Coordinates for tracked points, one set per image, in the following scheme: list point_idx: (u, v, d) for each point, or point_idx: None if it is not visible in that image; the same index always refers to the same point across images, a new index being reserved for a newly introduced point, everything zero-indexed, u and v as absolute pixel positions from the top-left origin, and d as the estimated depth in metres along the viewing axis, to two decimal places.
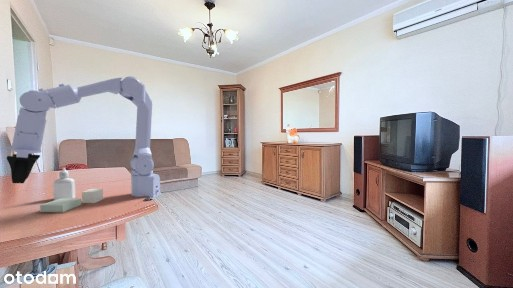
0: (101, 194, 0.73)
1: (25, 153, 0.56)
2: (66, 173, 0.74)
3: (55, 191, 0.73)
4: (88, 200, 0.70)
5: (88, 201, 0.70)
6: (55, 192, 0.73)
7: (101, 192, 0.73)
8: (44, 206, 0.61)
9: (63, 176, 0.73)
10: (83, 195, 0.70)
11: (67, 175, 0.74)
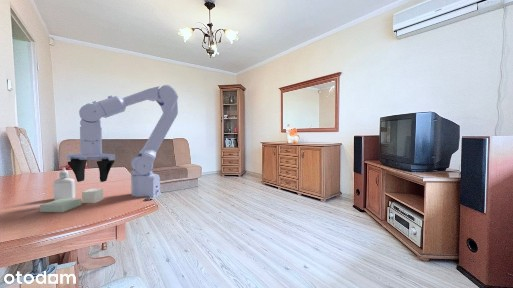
0: (101, 194, 0.73)
1: (114, 156, 0.72)
2: (66, 173, 0.74)
3: (55, 191, 0.73)
4: (88, 200, 0.70)
5: (88, 201, 0.70)
6: (55, 192, 0.73)
7: (101, 192, 0.73)
8: (44, 206, 0.61)
9: (63, 176, 0.73)
10: (83, 195, 0.70)
11: (67, 175, 0.74)
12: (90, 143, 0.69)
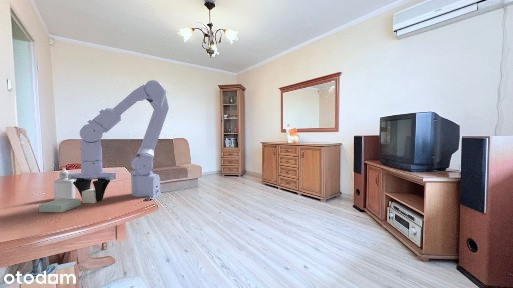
0: None
1: (114, 175, 0.72)
2: (66, 173, 0.74)
3: (55, 191, 0.73)
4: (88, 200, 0.70)
5: (88, 201, 0.70)
6: (55, 192, 0.73)
7: None
8: (43, 206, 0.61)
9: (63, 176, 0.73)
10: (83, 195, 0.70)
11: (67, 175, 0.74)
12: (91, 163, 0.69)
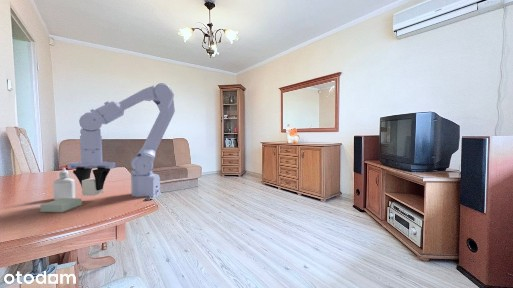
0: None
1: (114, 164, 0.72)
2: (66, 173, 0.74)
3: (55, 191, 0.73)
4: (88, 189, 0.70)
5: (88, 190, 0.70)
6: (55, 192, 0.73)
7: None
8: (44, 206, 0.61)
9: (63, 176, 0.73)
10: (83, 184, 0.70)
11: (67, 175, 0.74)
12: (90, 152, 0.69)
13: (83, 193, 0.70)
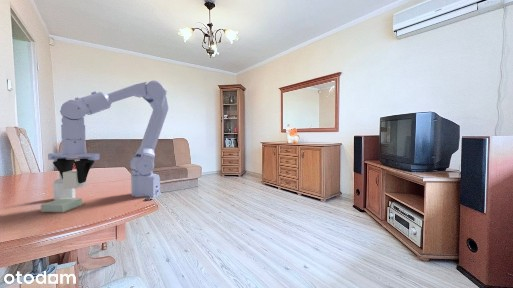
0: None
1: (98, 156, 0.68)
2: None
3: (55, 191, 0.73)
4: (69, 182, 0.66)
5: (69, 182, 0.66)
6: (55, 192, 0.73)
7: None
8: (44, 206, 0.61)
9: None
10: (64, 176, 0.65)
11: None
12: (72, 142, 0.65)
13: (64, 186, 0.66)
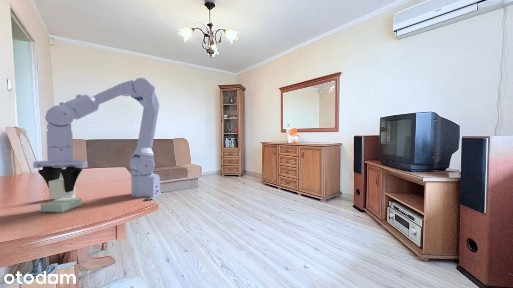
0: None
1: (86, 163, 0.65)
2: None
3: None
4: (55, 191, 0.63)
5: (55, 192, 0.63)
6: None
7: None
8: (44, 206, 0.62)
9: None
10: (50, 185, 0.63)
11: None
12: (58, 149, 0.62)
13: (50, 195, 0.63)
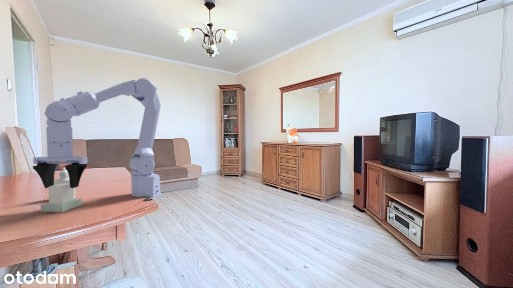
0: (72, 189, 0.66)
1: (86, 159, 0.65)
2: (66, 173, 0.74)
3: None
4: (56, 196, 0.63)
5: (55, 197, 0.63)
6: None
7: None
8: (44, 206, 0.62)
9: (63, 176, 0.73)
10: (50, 190, 0.62)
11: (67, 175, 0.74)
12: (58, 145, 0.62)
13: (50, 201, 0.63)
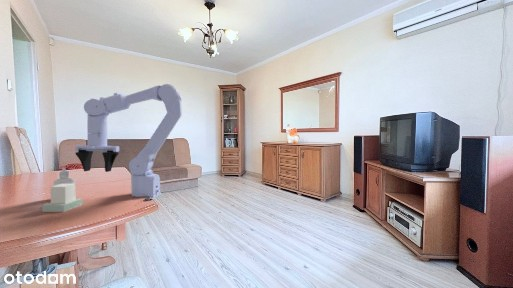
0: (73, 189, 0.66)
1: (118, 148, 0.78)
2: (66, 173, 0.74)
3: None
4: (58, 196, 0.63)
5: (57, 197, 0.63)
6: None
7: (73, 187, 0.66)
8: (45, 206, 0.62)
9: (63, 176, 0.73)
10: (52, 190, 0.63)
11: (67, 175, 0.74)
12: (97, 135, 0.75)
13: (52, 201, 0.63)
